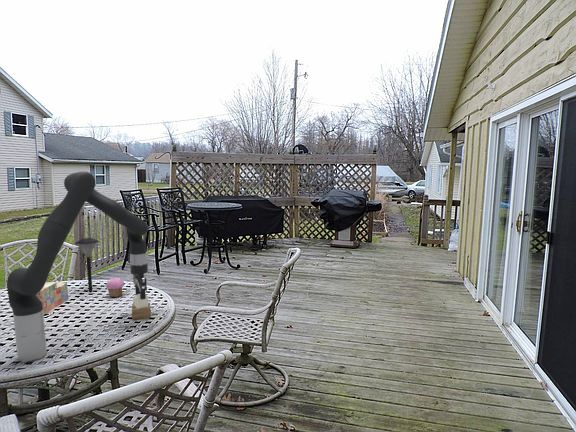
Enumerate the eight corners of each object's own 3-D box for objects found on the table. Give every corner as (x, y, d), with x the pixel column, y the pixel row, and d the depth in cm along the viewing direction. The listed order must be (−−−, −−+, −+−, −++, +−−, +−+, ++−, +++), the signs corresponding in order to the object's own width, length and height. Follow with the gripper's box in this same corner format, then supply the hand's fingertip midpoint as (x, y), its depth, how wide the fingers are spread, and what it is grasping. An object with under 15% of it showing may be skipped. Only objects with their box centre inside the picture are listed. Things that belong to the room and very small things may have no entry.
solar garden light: (104, 287, 230) (100, 236, 226) (101, 294, 219) (97, 240, 215) (80, 289, 226) (76, 237, 223) (76, 296, 215) (72, 241, 211)
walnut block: (150, 318, 185) (150, 308, 184) (132, 320, 182) (131, 310, 181) (150, 312, 192) (150, 302, 192) (132, 314, 190) (132, 304, 189)
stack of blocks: (57, 299, 210) (55, 277, 209) (68, 299, 210) (67, 277, 209) (30, 315, 189) (28, 289, 187) (43, 315, 189) (41, 290, 187)
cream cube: (148, 306, 186) (147, 296, 185) (137, 309, 183) (136, 298, 182) (145, 303, 190) (144, 293, 189) (134, 305, 187) (133, 295, 186)
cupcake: (127, 293, 219) (126, 276, 218) (119, 299, 210) (118, 280, 209) (112, 293, 220) (111, 275, 219) (103, 298, 211) (102, 280, 210)
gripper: (126, 260, 187) (128, 294, 190) (134, 267, 176) (136, 302, 178) (143, 258, 192) (144, 291, 194) (151, 264, 180) (153, 299, 182)
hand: (140, 296), depth 186 cm, fingers open, 8 cm apart
